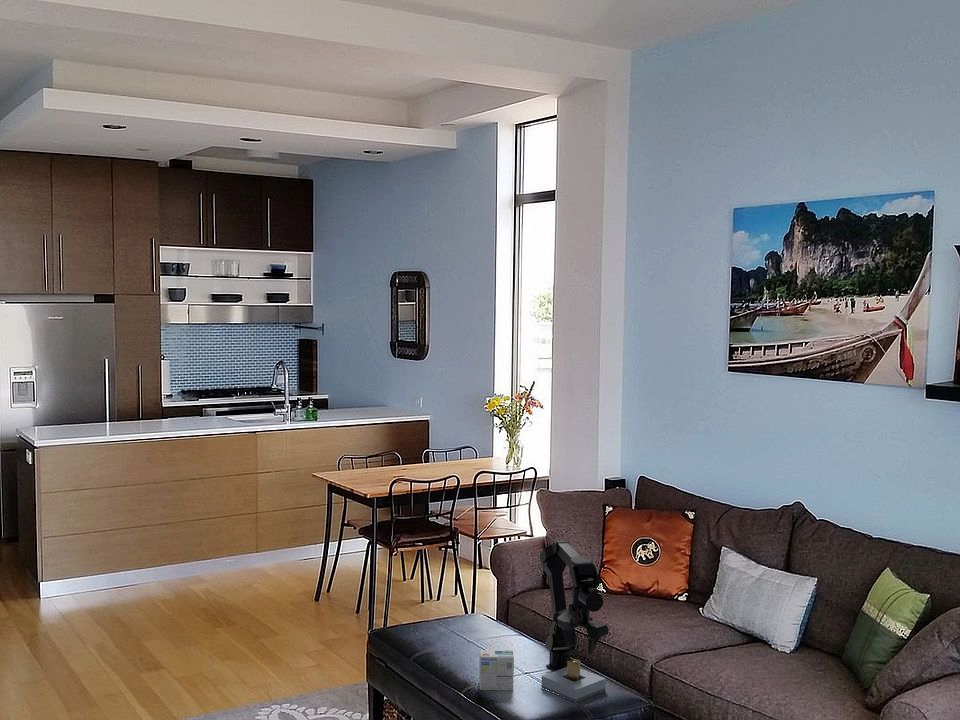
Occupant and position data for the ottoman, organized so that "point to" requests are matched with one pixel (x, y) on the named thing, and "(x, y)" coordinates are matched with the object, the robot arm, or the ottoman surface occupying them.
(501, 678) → the light bulb box
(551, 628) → the robot arm
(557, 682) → the bore block
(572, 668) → the peg
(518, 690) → the ottoman surface
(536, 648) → the ottoman surface
